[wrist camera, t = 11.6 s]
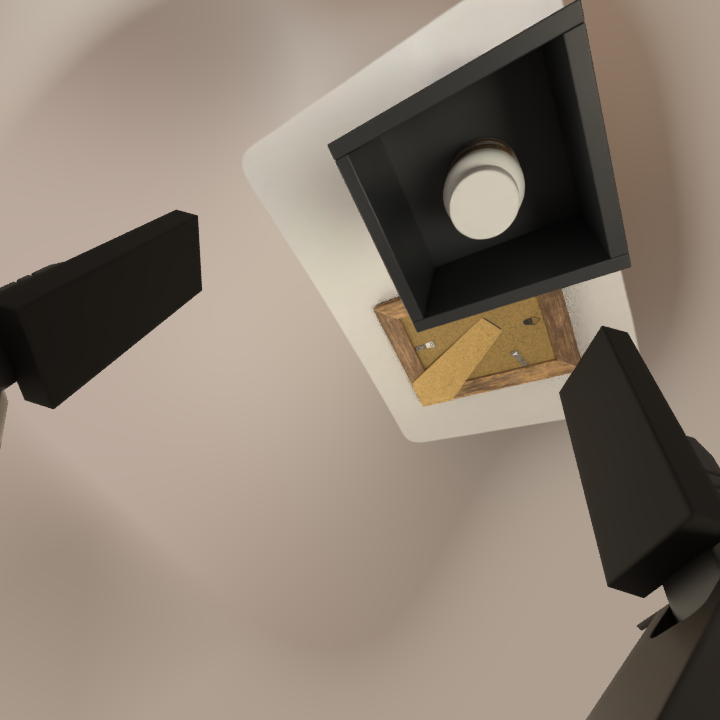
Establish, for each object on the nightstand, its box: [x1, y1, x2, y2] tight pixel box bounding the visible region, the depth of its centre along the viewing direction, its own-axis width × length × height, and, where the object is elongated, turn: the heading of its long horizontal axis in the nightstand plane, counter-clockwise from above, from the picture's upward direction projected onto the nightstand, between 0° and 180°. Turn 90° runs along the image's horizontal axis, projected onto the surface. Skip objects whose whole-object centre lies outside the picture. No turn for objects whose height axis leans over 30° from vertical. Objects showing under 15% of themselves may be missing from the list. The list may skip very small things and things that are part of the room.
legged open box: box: [328, 0, 631, 333], centre depth 33 cm, size 12×12×31 cm
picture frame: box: [374, 289, 581, 407], centre depth 58 cm, size 19×2×24 cm
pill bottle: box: [443, 137, 525, 239], centre depth 24 cm, size 4×4×8 cm
